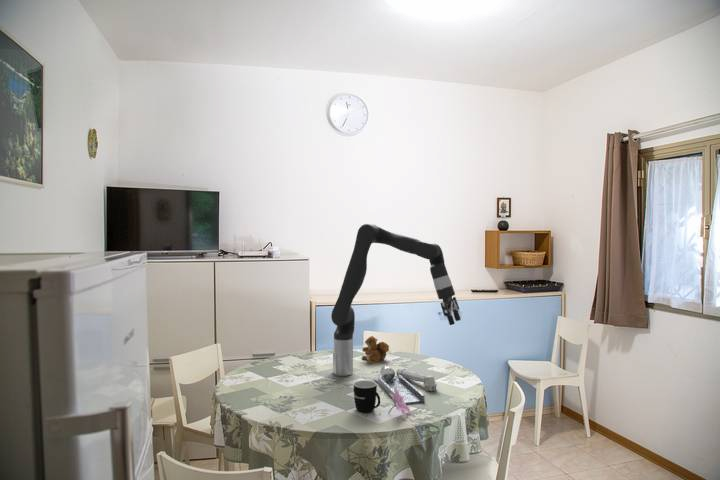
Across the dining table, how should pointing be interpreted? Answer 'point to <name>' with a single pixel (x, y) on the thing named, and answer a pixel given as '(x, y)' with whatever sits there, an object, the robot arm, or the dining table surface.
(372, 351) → the stuffed squirrel
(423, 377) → the electric toothbrush
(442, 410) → the dining table surface
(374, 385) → the mug
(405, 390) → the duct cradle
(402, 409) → the lily
